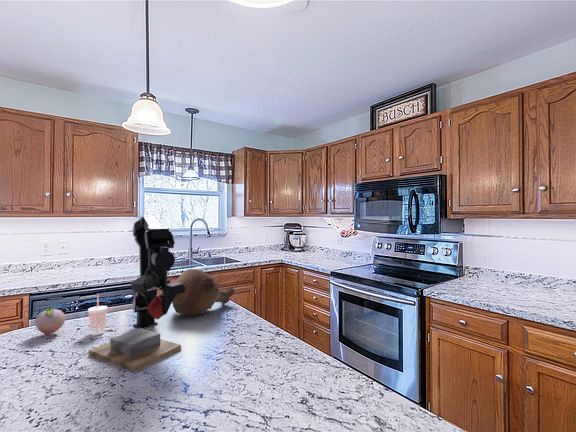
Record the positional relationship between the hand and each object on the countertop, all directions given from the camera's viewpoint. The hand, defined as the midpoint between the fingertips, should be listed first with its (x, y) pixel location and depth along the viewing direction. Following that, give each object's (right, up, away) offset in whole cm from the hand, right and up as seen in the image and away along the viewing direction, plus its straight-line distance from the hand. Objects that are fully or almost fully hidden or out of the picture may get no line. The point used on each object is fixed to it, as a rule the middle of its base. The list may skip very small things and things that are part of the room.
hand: (157, 313), depth 98 cm
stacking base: (-5, -11, -4) cm, 13 cm away
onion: (0, -2, 0) cm, 2 cm away
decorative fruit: (-43, -11, +10) cm, 45 cm away
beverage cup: (-27, -11, +12) cm, 32 cm away
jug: (+5, -11, +37) cm, 39 cm away
